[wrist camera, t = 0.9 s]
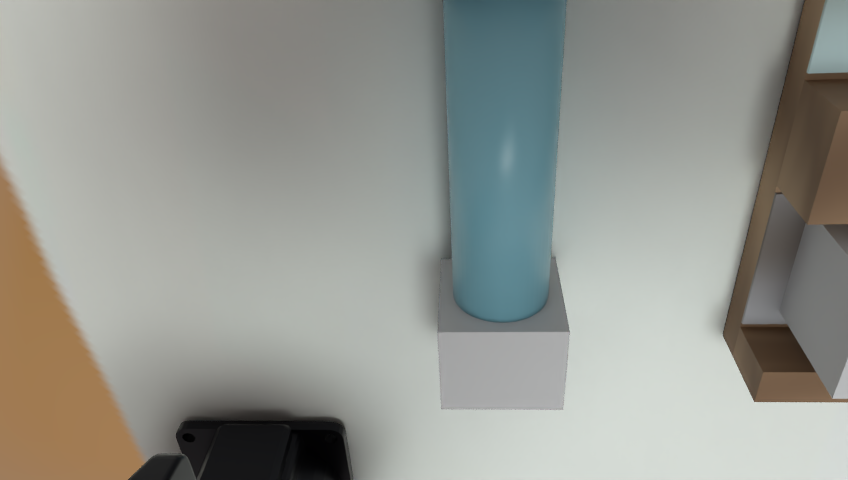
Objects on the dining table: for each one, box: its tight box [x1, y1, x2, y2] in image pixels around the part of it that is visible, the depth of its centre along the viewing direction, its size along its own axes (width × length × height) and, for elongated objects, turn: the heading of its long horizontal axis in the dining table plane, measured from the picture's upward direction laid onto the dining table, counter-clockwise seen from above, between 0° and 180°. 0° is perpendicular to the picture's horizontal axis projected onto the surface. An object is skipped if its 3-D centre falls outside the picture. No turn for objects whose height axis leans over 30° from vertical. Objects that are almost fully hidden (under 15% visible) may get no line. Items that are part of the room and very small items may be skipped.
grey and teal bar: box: [437, 0, 570, 410], centre depth 18 cm, size 15×4×4 cm, turn 3°
